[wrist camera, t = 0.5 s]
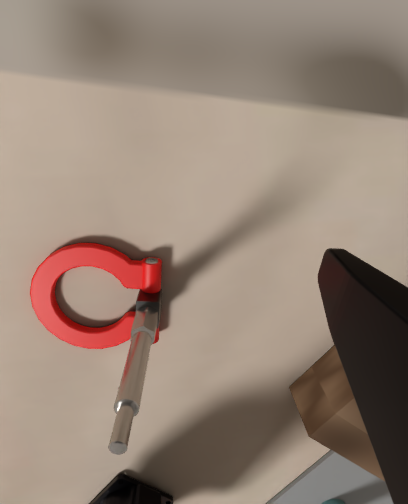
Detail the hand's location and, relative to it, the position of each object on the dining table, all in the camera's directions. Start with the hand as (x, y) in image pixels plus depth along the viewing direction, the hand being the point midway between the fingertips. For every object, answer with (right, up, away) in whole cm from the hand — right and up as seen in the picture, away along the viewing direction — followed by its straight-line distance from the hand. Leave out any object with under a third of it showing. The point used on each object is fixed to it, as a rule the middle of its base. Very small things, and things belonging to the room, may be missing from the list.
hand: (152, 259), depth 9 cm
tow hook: (-6, -3, +17) cm, 19 cm away
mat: (+15, -27, +29) cm, 42 cm away
